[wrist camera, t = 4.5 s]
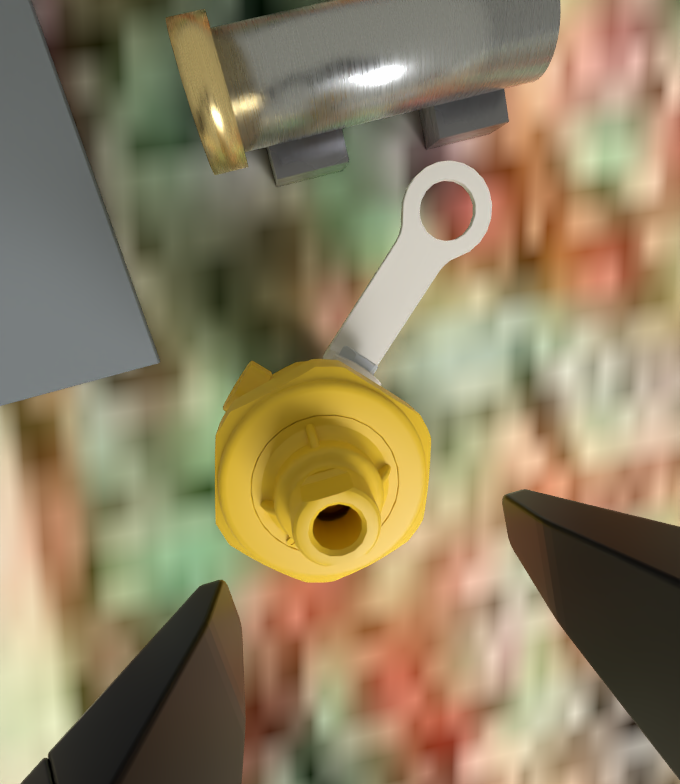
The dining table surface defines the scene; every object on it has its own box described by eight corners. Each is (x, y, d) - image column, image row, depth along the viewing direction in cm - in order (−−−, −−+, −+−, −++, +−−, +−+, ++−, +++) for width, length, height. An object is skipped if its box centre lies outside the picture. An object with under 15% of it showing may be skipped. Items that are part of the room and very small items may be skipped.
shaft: (476, -8, 17) (557, -120, 12) (497, 132, 18) (578, 81, 13) (185, 59, 16) (148, -31, 11) (226, 199, 17) (209, 172, 12)
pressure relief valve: (206, 421, 19) (139, 573, 9) (379, 140, 17) (517, -32, 8) (327, 487, 20) (381, 683, 10) (497, 231, 19) (743, 181, 9)
